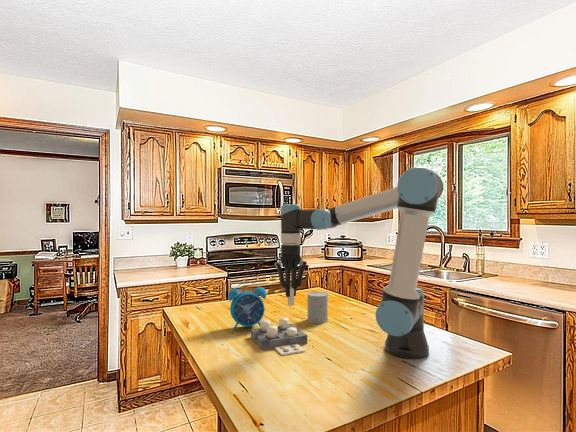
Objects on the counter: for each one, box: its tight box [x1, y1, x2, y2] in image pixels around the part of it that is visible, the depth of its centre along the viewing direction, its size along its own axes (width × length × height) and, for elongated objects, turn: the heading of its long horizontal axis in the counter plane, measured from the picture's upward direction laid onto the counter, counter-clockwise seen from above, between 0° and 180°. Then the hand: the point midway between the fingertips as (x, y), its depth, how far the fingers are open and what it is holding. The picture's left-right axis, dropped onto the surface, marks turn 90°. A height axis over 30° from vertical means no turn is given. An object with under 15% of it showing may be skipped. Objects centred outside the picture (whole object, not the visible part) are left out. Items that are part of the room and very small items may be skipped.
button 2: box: [267, 325, 278, 338], centre depth 133 cm, size 4×4×4 cm
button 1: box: [259, 319, 271, 332], centre depth 141 cm, size 4×4×4 cm
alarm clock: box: [227, 280, 267, 332], centre depth 153 cm, size 17×10×20 cm, turn 104°
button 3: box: [278, 317, 290, 329], centre depth 144 cm, size 4×4×4 cm
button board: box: [250, 323, 308, 351], centre depth 138 cm, size 15×18×3 cm
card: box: [274, 344, 306, 357], centre depth 128 cm, size 7×9×1 cm
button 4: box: [287, 327, 298, 337], centre depth 136 cm, size 4×4×4 cm
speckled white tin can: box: [306, 291, 329, 324], centre depth 164 cm, size 10×10×12 cm
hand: (290, 304), depth 136 cm, fingers closed
